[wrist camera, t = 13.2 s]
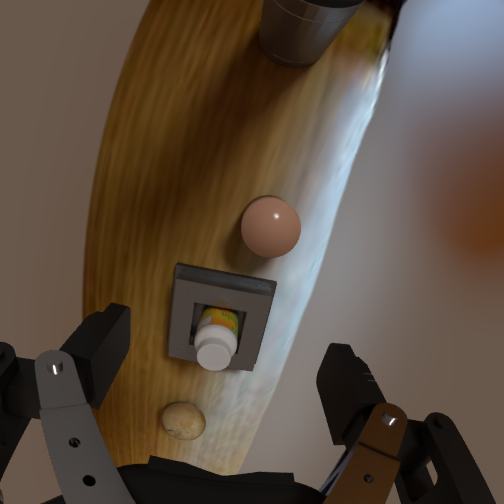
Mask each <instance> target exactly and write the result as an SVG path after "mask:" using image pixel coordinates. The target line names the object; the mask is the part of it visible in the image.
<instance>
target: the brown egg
mask: <svg viewBox="0 0 504 504" xmlns="http://www.w3.org/2000/svg"><path fill="white" fill-rule="evenodd" d="M300 232H301V224H300V219H299V217H298V215H297V213H296V211H295V210H294V209H293V208H292V207H291V206H290V205H289V204H287V203H286V202H285V201H284V200H282V199H281V198H279V197H276V196H271V195H265V196H260V197H257V198H255V199H253V200H252V201H251V202H250V203H249V204H248V205H247V206H246V208H245V209H244V211H243V214H242V219H241V233H242V237H243V240H244V242H245V244H246V246H247V247H248V248H249V249H250V250H251V251H252V252H254V253H255V254H257V255H259V256H262V257H266V258H275V257H279V256H282V255H284V254H286V253H288V252H289V251H290V250H291V249H293V247H294V246H295V245H296V243H297V242H298V239H299V237H300Z"/></svg>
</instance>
